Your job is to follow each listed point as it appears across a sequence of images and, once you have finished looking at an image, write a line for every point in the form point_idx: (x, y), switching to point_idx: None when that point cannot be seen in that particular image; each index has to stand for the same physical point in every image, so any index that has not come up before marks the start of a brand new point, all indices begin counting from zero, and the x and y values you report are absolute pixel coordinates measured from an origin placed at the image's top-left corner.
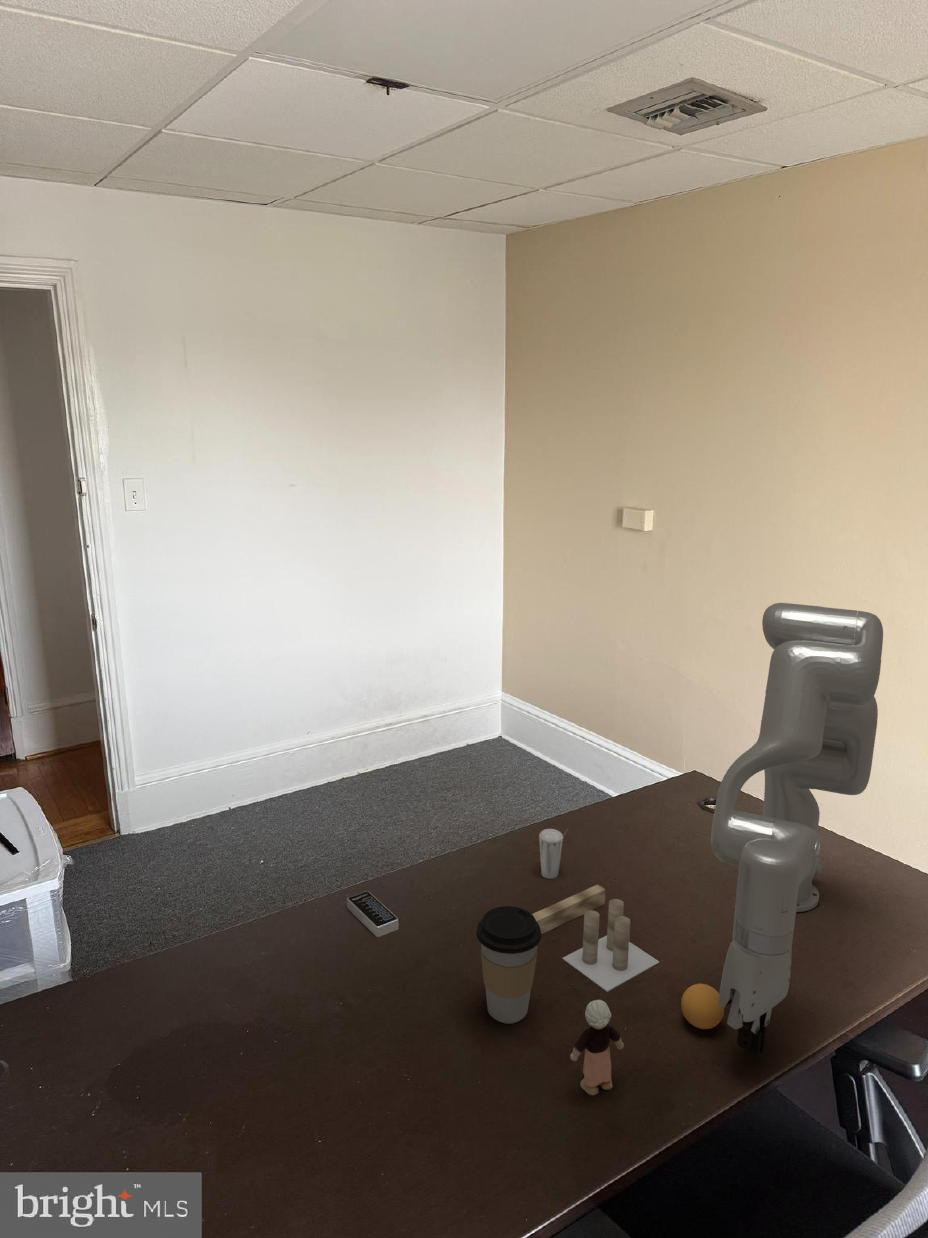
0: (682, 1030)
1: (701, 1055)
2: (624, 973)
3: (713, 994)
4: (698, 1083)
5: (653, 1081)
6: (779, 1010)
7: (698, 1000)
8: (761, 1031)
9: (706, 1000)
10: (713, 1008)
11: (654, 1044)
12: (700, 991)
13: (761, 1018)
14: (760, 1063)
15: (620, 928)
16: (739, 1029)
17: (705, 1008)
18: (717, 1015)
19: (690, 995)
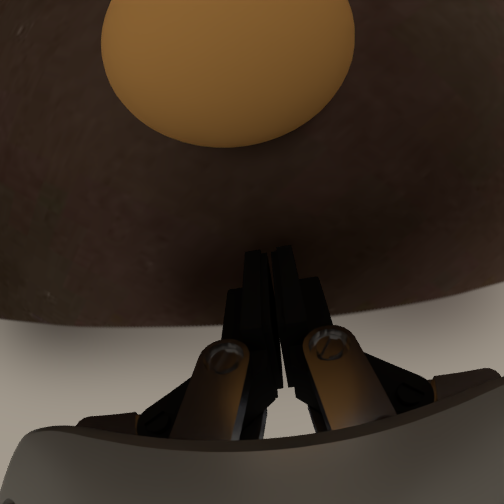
0: None
1: (131, 186)
2: None
3: (252, 62)
4: (78, 264)
5: (3, 215)
6: (497, 170)
7: (115, 64)
8: (276, 397)
9: (157, 88)
10: (198, 135)
11: (39, 99)
12: (153, 8)
13: (314, 408)
14: None
15: None
16: (243, 296)
17: (144, 118)
18: (227, 147)
19: (112, 4)
